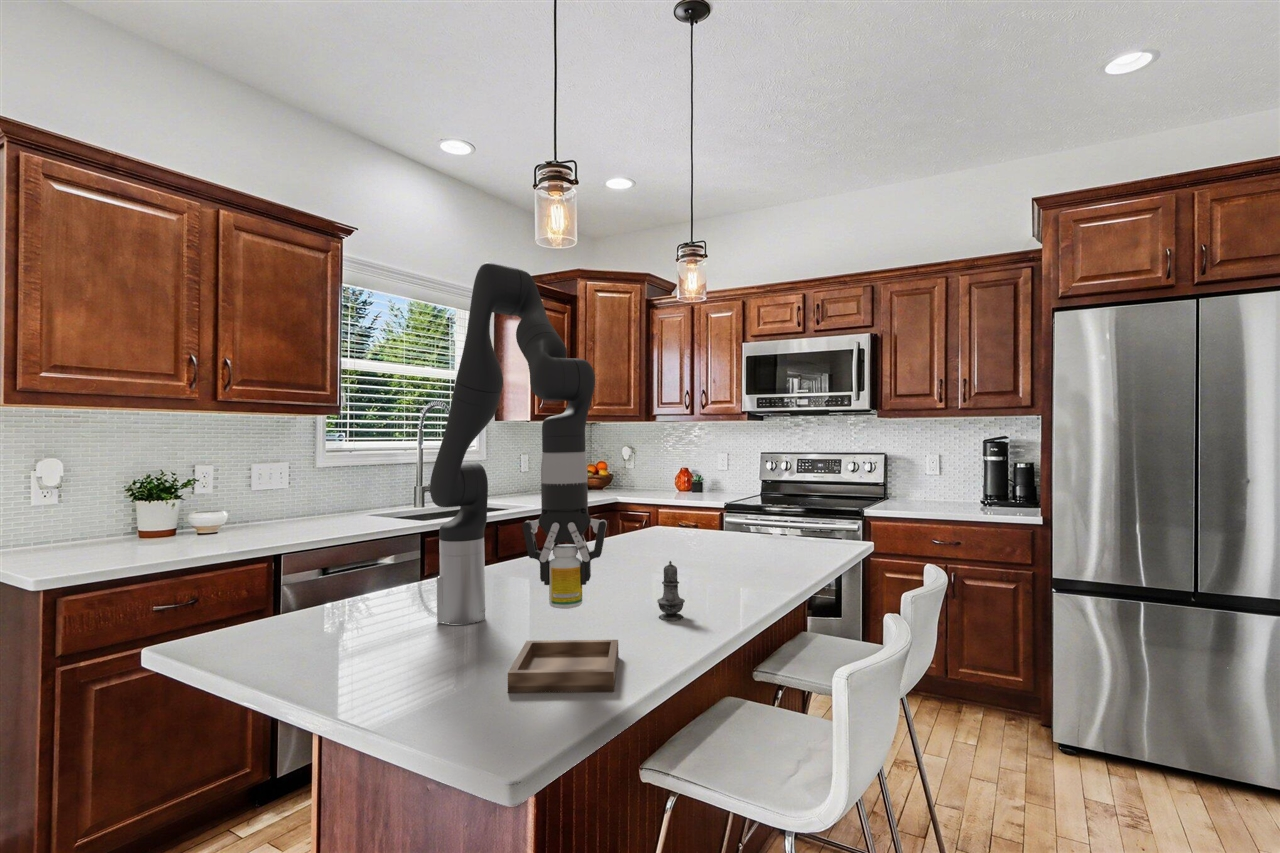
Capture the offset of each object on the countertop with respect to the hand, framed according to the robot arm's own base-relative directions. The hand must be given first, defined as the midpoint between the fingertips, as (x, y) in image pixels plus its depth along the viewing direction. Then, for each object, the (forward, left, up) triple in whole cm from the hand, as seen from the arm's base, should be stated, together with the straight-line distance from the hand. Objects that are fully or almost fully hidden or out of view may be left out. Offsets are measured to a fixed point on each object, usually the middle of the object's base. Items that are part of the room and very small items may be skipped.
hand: (565, 583), depth 111 cm
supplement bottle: (0, 0, -4) cm, 4 cm away
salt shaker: (+18, +33, -15) cm, 40 cm away
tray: (0, 0, -15) cm, 15 cm away
